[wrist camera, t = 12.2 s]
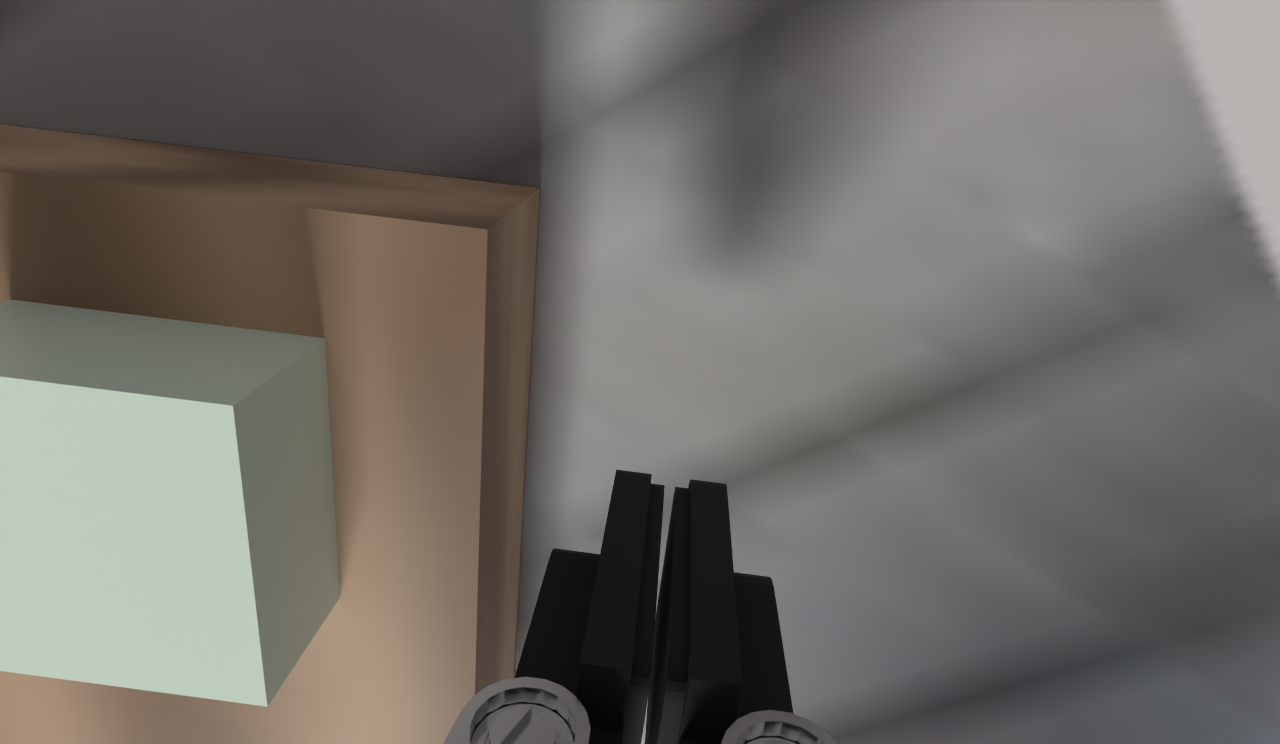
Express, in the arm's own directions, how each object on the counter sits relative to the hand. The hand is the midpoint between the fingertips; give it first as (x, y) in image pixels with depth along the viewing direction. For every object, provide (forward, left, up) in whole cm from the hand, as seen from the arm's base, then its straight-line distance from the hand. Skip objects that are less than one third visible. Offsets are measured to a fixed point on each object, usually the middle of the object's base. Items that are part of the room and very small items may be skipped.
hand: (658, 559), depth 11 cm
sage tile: (+8, 0, -1) cm, 8 cm away
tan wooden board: (+9, +5, -5) cm, 11 cm away
